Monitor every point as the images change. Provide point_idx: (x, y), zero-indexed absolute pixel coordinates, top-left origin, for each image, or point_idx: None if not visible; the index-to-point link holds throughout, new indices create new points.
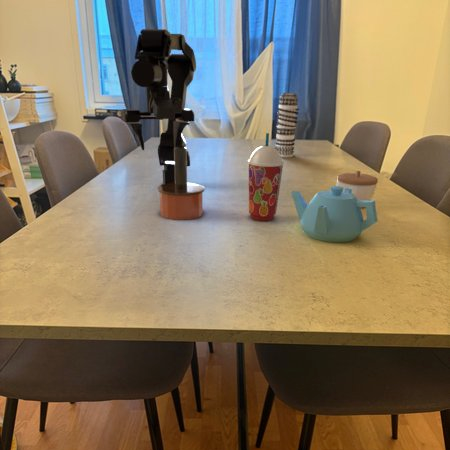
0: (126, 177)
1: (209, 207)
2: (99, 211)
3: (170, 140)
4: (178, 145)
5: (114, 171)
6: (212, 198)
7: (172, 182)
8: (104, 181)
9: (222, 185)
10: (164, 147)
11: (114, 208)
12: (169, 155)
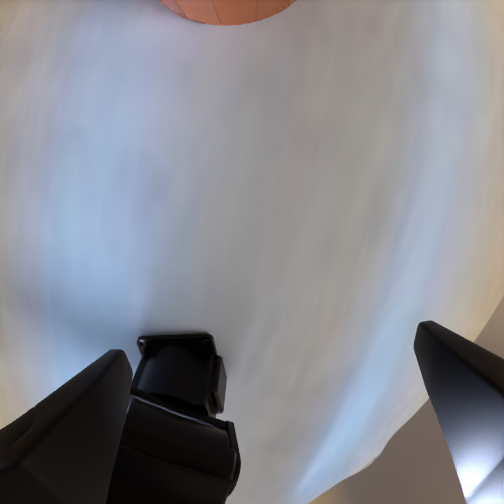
0: (320, 445)
1: (104, 25)
2: (495, 86)
3: (164, 495)
4: (120, 453)
5: (330, 478)
6: (65, 152)
7: (192, 353)
8: (390, 416)
9: (36, 319)
10: (204, 470)
11: (460, 97)
12: (184, 428)
